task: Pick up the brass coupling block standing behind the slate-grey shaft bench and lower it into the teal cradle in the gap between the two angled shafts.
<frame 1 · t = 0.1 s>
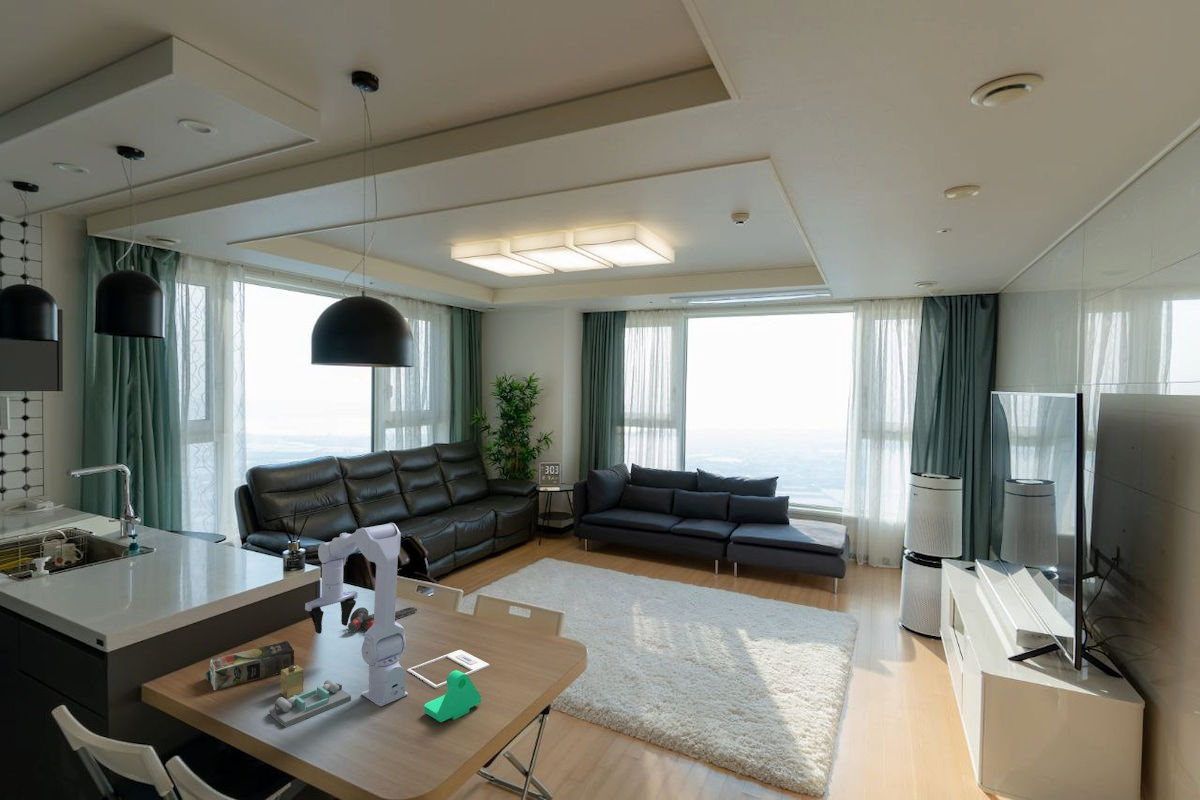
hand: (331, 628, 167), 10 cm above the table, fingers open, 7 cm apart
coupling block: (291, 692, 150), on the table
camera mount: (452, 711, 142), on the table
black red power tool: (387, 625, 196), on the table
photo frame: (448, 670, 165), on the table
shaft bench: (311, 706, 143), on the table
juice carton: (251, 675, 160), on the table
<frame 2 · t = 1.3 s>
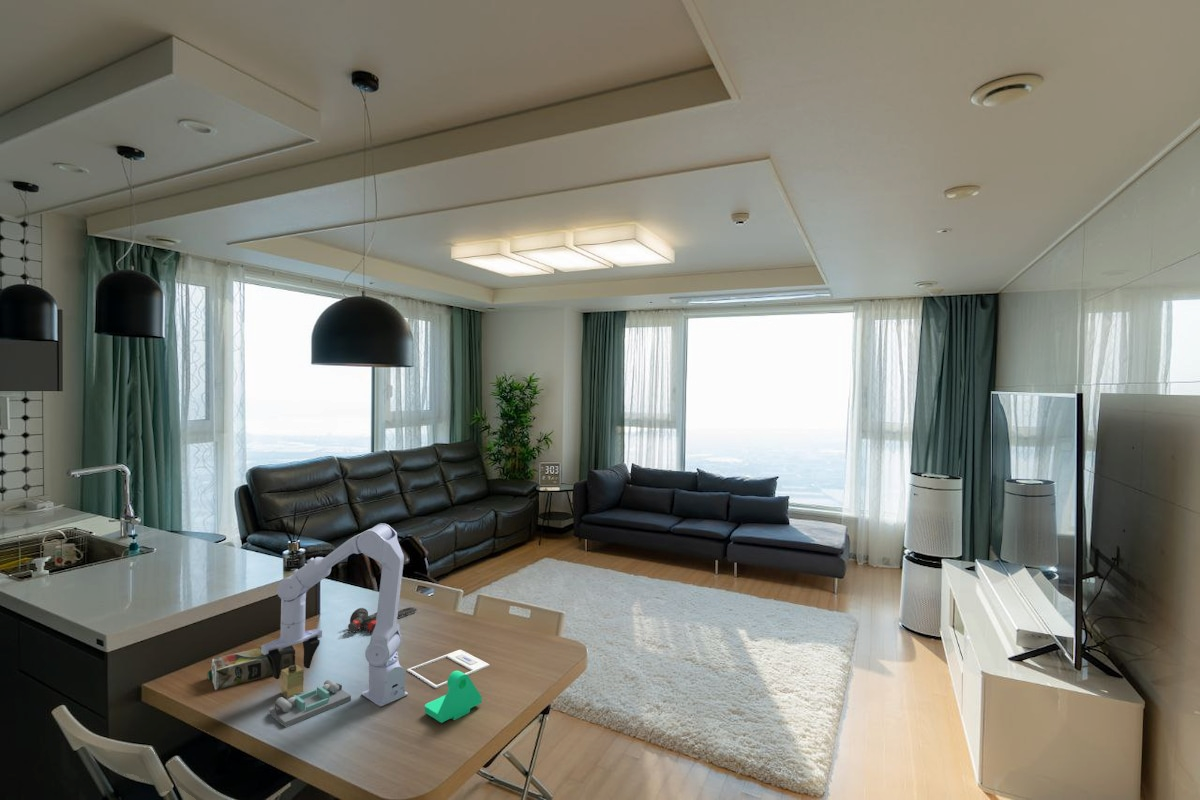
hand: (291, 672, 150), 5 cm above the table, fingers open, 7 cm apart
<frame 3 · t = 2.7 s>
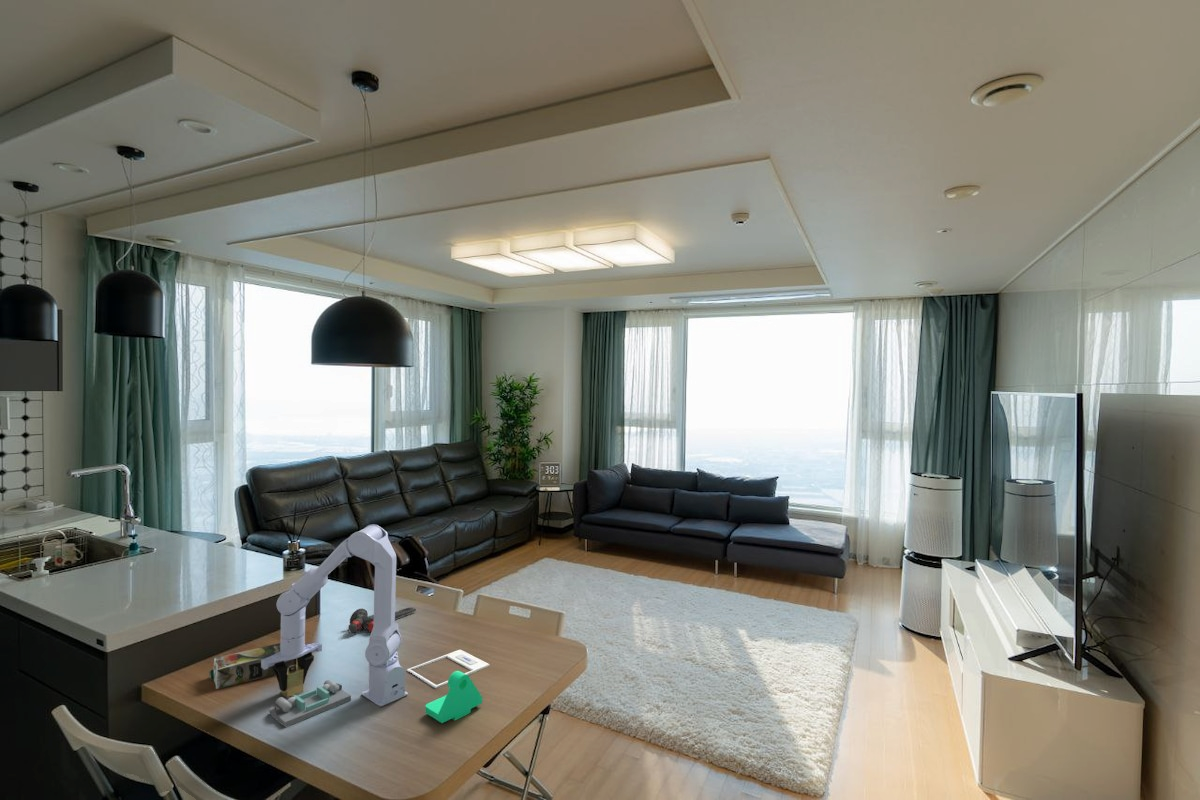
hand: (291, 686, 150), 2 cm above the table, fingers closed on coupling block, 4 cm apart
coupling block: (291, 692, 150), on the table, touching gripper
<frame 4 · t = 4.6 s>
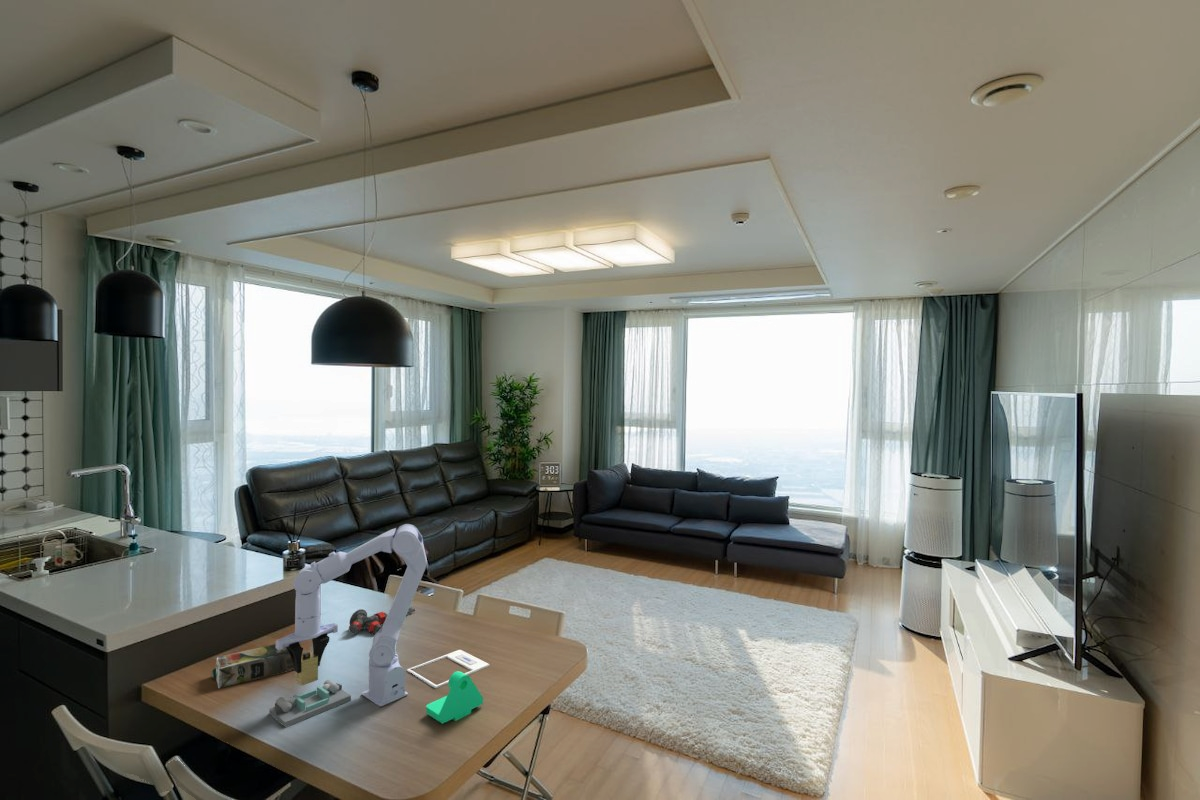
hand: (307, 668, 145), 9 cm above the table, fingers closed on coupling block, 4 cm apart
coupling block: (306, 680, 145), point 6 cm above the table, touching gripper
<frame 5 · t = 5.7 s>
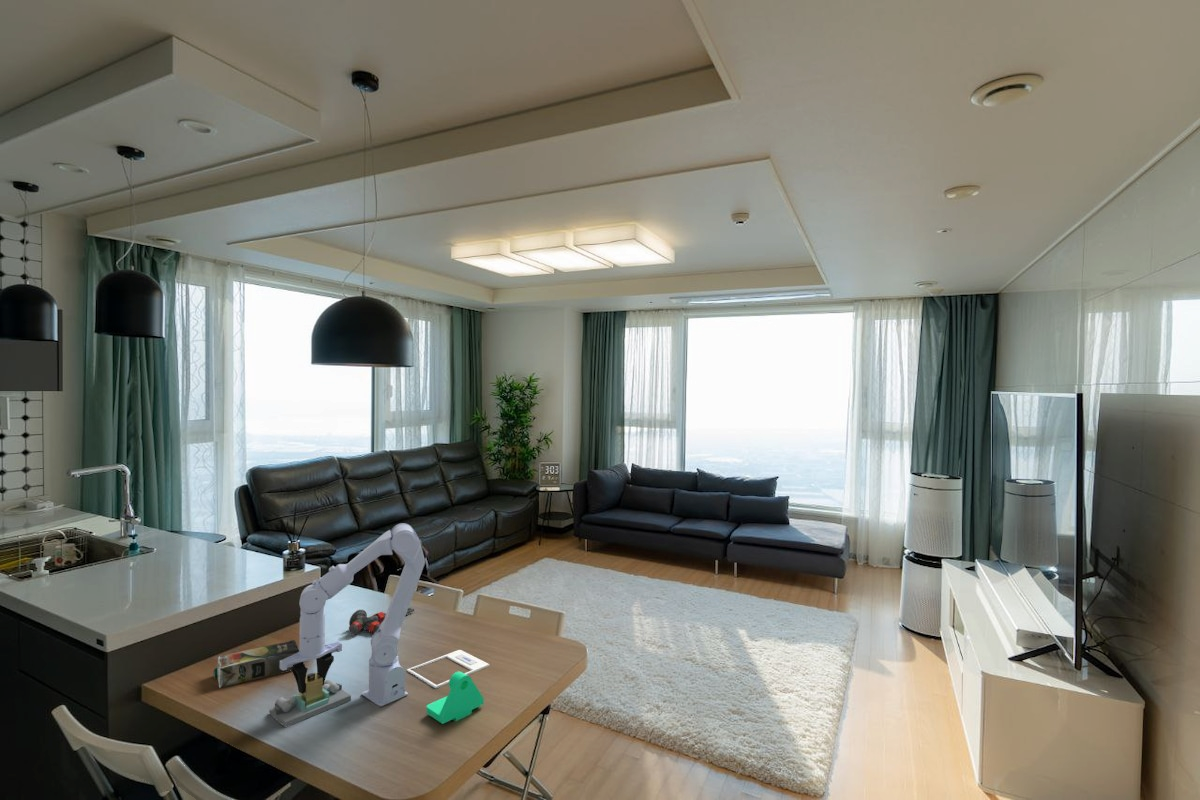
hand: (311, 688, 143), 5 cm above the table, fingers closed on coupling block, 4 cm apart
coupling block: (310, 701, 143), point 1 cm above the table, touching gripper, shaft bench
when the fingers open (5 cm above the table, at t = 6.4 s): coupling block stays where it is, resting on shaft bench.
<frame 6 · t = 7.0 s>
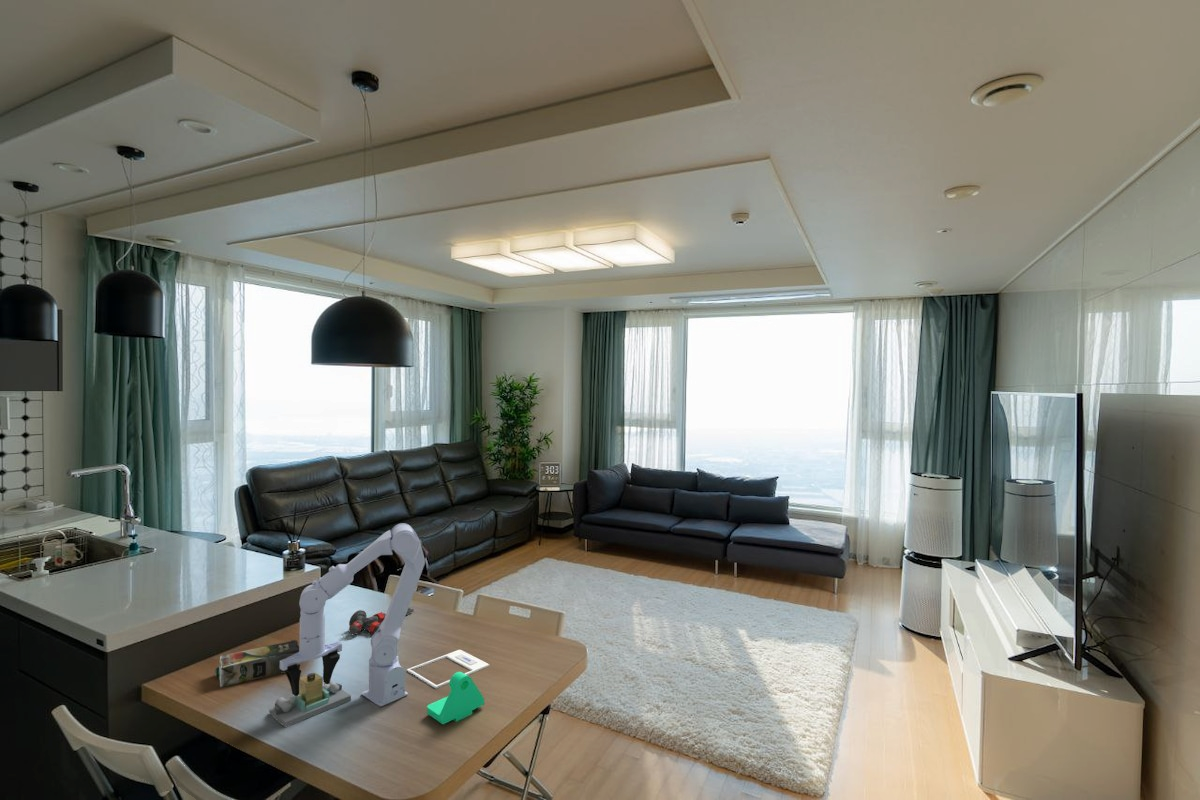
hand: (311, 688, 143), 5 cm above the table, fingers open, 7 cm apart
coupling block: (310, 701, 143), point 1 cm above the table, touching shaft bench
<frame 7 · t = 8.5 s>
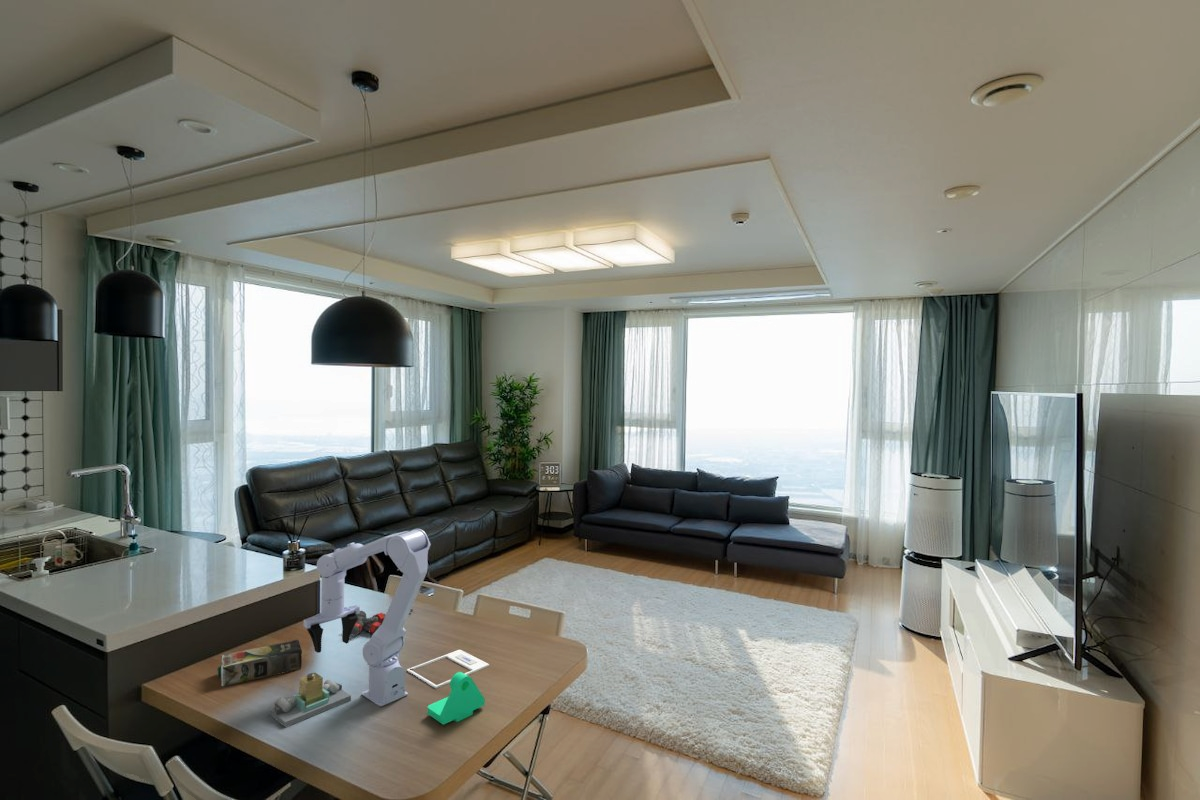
hand: (331, 646, 155), 10 cm above the table, fingers open, 7 cm apart
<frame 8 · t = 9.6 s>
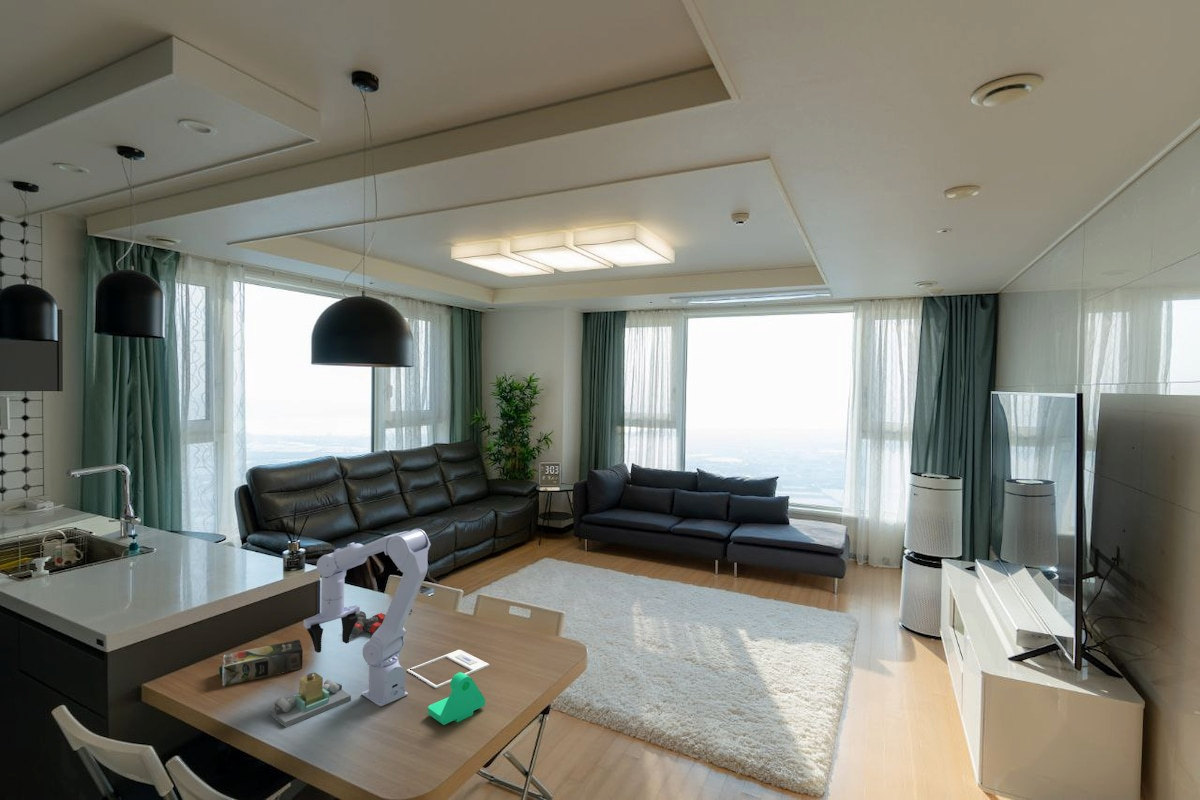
hand: (331, 646, 155), 10 cm above the table, fingers open, 7 cm apart
at the end: coupling block 0.2 cm off-centre on the shaft bench, point 1.2 cm above the shaft bench's base; coupling block tilted 0°; the gripper is holding nothing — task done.
